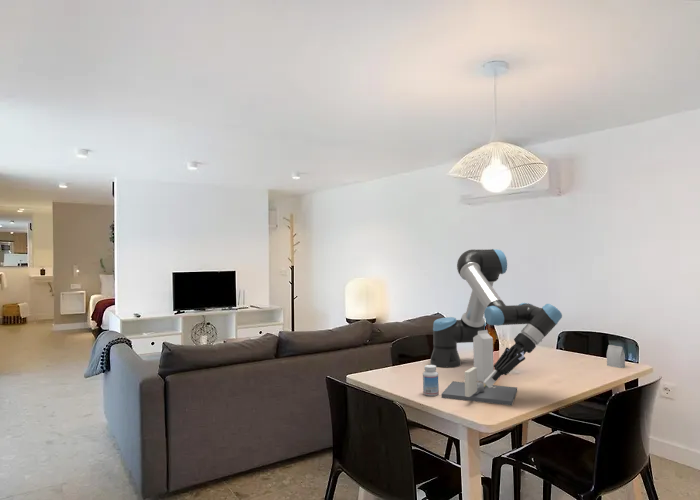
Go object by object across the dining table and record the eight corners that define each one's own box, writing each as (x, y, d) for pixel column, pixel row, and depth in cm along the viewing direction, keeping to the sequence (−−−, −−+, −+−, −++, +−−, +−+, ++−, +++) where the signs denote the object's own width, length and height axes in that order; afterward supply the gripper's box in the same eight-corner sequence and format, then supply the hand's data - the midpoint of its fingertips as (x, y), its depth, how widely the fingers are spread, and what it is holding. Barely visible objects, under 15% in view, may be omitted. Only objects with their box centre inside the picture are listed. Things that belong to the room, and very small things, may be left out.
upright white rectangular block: (483, 383, 193) (483, 359, 193) (492, 384, 191) (492, 359, 191) (462, 399, 172) (461, 371, 173) (471, 400, 170) (471, 372, 171)
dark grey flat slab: (441, 397, 181) (441, 393, 181) (452, 384, 199) (452, 380, 199) (511, 405, 170) (511, 400, 170) (517, 391, 188) (517, 386, 188)
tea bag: (620, 368, 223) (620, 347, 224) (606, 365, 229) (606, 345, 229) (625, 367, 225) (624, 346, 225) (611, 364, 231) (610, 344, 231)
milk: (493, 381, 204) (493, 330, 204) (483, 383, 201) (483, 331, 201) (483, 378, 209) (482, 328, 210) (473, 379, 206) (472, 330, 207)
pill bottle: (441, 394, 185) (441, 366, 185) (430, 397, 181) (429, 368, 182) (431, 391, 190) (430, 363, 190) (420, 393, 186) (419, 365, 187)
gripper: (543, 349, 169) (500, 397, 167) (527, 342, 182) (487, 387, 180) (529, 334, 169) (485, 382, 167) (513, 329, 182) (473, 374, 180)
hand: (486, 385), depth 174 cm, fingers closed
